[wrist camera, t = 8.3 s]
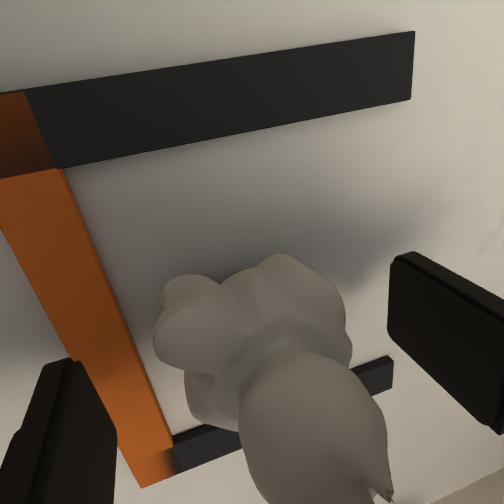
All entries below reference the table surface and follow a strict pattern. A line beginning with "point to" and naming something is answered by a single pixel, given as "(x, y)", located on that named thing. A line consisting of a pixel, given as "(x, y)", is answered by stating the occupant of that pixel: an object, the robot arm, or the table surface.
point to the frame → (145, 140)
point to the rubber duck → (278, 380)
